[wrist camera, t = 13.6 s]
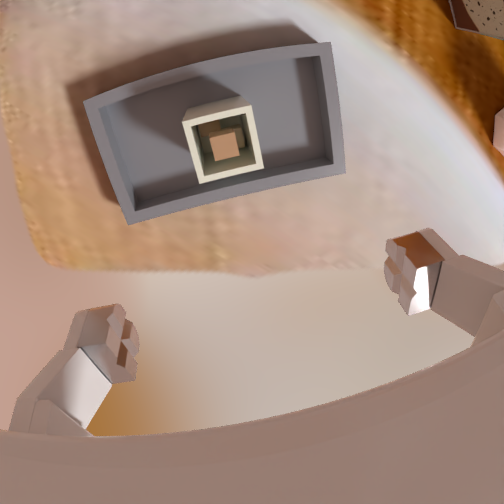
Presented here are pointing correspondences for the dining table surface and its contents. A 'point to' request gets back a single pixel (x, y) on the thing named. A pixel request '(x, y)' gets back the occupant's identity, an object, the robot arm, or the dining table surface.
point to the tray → (210, 90)
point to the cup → (222, 139)
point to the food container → (479, 16)
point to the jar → (499, 132)
